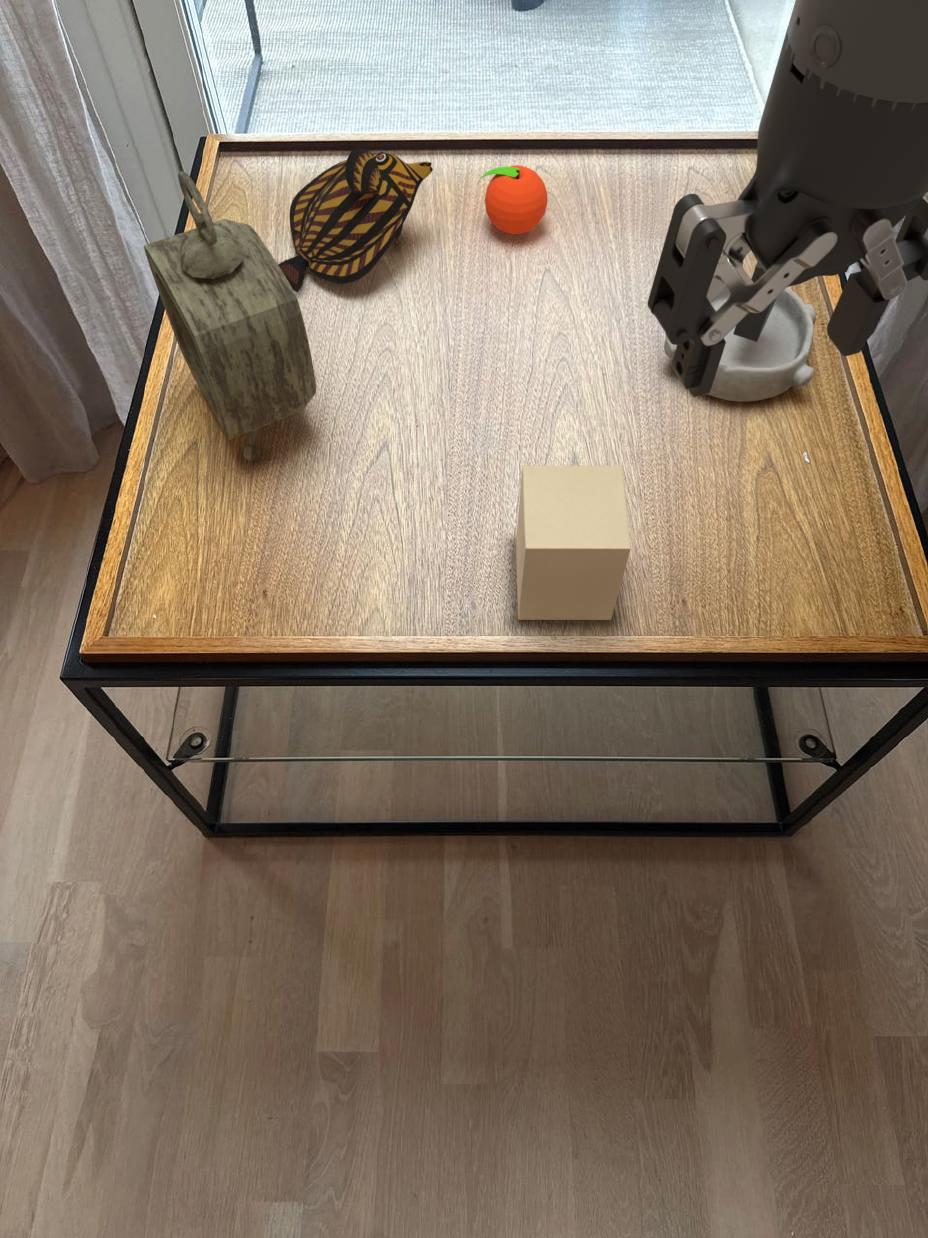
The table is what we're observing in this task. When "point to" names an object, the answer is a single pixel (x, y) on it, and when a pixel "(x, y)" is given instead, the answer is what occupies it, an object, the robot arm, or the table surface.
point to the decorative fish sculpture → (351, 216)
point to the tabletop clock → (234, 321)
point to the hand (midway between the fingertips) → (767, 363)
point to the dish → (765, 353)
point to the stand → (571, 542)
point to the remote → (754, 315)
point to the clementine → (515, 199)
